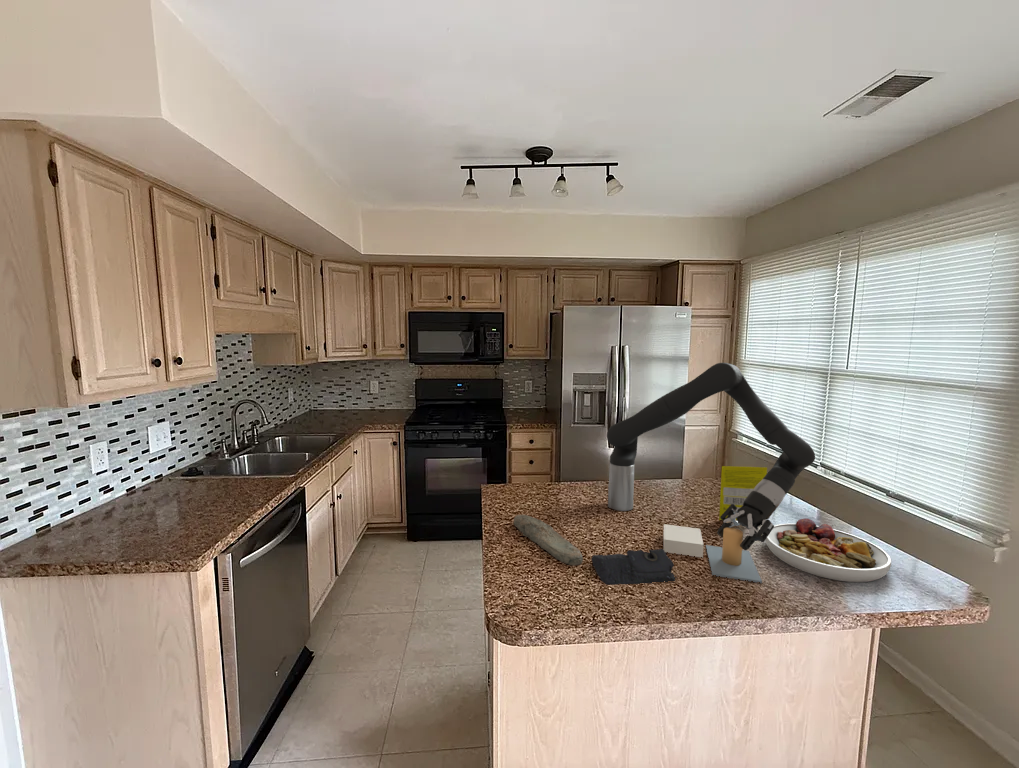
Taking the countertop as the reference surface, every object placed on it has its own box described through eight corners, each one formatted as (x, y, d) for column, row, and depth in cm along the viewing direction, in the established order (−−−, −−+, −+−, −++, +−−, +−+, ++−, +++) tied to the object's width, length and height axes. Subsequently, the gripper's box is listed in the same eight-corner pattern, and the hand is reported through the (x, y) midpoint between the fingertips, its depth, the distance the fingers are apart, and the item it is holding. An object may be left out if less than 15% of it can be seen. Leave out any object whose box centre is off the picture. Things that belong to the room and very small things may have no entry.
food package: (763, 521, 157) (766, 467, 156) (764, 523, 156) (767, 467, 154) (718, 519, 159) (721, 465, 157) (719, 521, 158) (722, 466, 156)
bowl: (918, 593, 113) (921, 564, 112) (789, 581, 118) (791, 553, 117) (850, 542, 142) (852, 518, 141) (750, 534, 147) (751, 511, 147)
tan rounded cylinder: (723, 563, 126) (724, 533, 125) (720, 555, 130) (722, 526, 130) (742, 566, 124) (744, 536, 123) (739, 558, 129) (741, 528, 128)
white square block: (663, 551, 134) (664, 539, 134) (663, 535, 145) (663, 524, 145) (702, 557, 130) (703, 544, 130) (699, 540, 142) (700, 528, 141)
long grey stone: (562, 575, 123) (591, 568, 128) (564, 557, 123) (592, 551, 128) (505, 523, 154) (529, 519, 159) (506, 509, 153) (530, 505, 158)
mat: (712, 575, 121) (712, 573, 120) (705, 546, 138) (705, 545, 137) (761, 583, 117) (761, 581, 117) (748, 552, 134) (749, 551, 134)
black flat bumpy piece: (586, 559, 130) (586, 544, 130) (657, 556, 132) (658, 541, 132) (602, 588, 115) (603, 570, 114) (682, 583, 117) (683, 566, 117)
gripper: (738, 483, 134) (705, 524, 132) (779, 499, 121) (743, 544, 118) (751, 498, 136) (719, 538, 134) (792, 515, 123) (758, 561, 120)
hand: (730, 541), depth 126 cm, fingers open, 8 cm apart
